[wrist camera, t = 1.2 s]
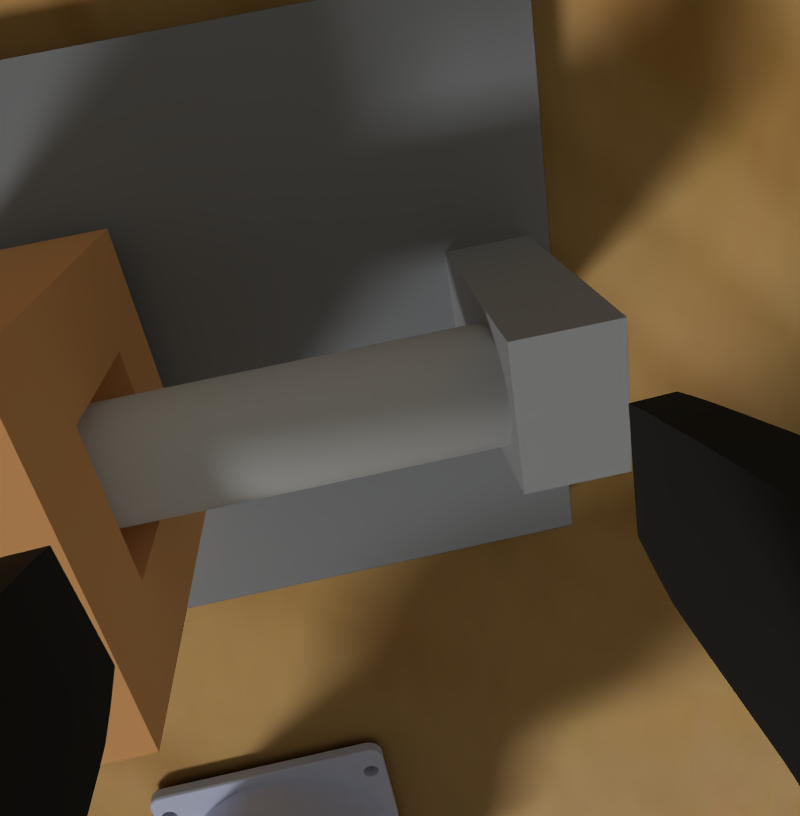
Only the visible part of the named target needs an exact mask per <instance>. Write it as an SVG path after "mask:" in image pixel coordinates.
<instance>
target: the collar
mask: <svg viewBox="0 0 800 816" xmlns="http://www.w3.org/2000/svg"><path fill="white" fill-rule="evenodd" d="M161 388H163V385H162V382H161V379H160V377H159V374H158V371H157V368H156V365H155V362H154V360H153V357H152V354H151V351H150V348H149V345H148V343H147V340H146V337H145V334H144V331H143V328H142V326H141V323H140V320H139V317H138V314H137V311H136V308H135V306H134V303H133V300H132V297H131V294H130V291H129V289H128V286H127V283H126V280H125V277H124V274H123V272H122V269H121V266H120V263H119V260H118V257H117V255H116V252H115V249H114V246H113V243H112V240H111V238H110V235H109V232H108V229H102V230H97V231H92V232H87V233H82V234H77V235H72V236H67V237H62V238H57V239H52V240H47V241H42V242H37V243H32V244H27V245H22V246H17V247H12V248H7V249H2V250H0V558H1V557H4V556H8V555H12V554H16V553H21V552H25V551H29V550H33V549H37V548H41V547H45V546H49V545H50V546H51V548H52V550H53V551H54V553H55V555H56V557H57V559H58V561H59V563H60V564H61V566H62V568H63V570H64V572H65V574H66V576H67V577H68V579H69V581H70V583H71V585H72V587H73V589H74V590H75V592H76V594H77V596H78V598H79V600H80V602H81V603H82V605H83V607H84V609H85V611H86V613H87V615H88V616H89V618H90V620H91V622H92V624H93V626H94V628H95V629H96V631H97V633H98V635H99V637H100V639H101V641H102V642H103V644H104V646H105V648H106V650H107V652H108V654H109V655H110V657H111V659H112V661H113V663H114V665H115V671H114V681H113V690H112V700H111V709H110V716H109V723H108V730H107V737H106V744H105V748H104V753H103V757H102V761H101V765H104V764H109V763H113V762H118V761H122V760H127V759H131V758H135V757H140V756H144V755H149V754H153V753H158V752H159V749H160V744H161V739H162V734H163V728H164V723H165V718H166V713H167V708H168V703H169V698H170V693H171V688H172V682H173V677H174V672H175V667H176V662H177V657H178V652H179V647H180V642H181V636H182V631H183V626H184V621H185V616H186V611H187V606H188V601H189V596H190V590H191V585H192V580H193V575H194V570H195V565H196V560H197V555H198V550H199V544H200V539H201V534H202V529H203V524H204V519H205V514H206V510H205V511H200V512H195V513H191V514H186V515H181V516H177V517H172V518H167V519H163V520H158V521H153V522H149V523H144V524H139V525H134V526H130V527H125V528H119V526H118V524H117V521H116V519H115V517H114V514H113V512H112V510H111V507H110V505H109V502H108V500H107V498H106V495H105V493H104V491H103V488H102V486H101V484H100V481H99V479H98V477H97V474H96V472H95V469H94V467H93V465H92V462H91V460H90V458H89V455H88V453H87V451H86V448H85V446H84V443H83V441H82V439H81V436H80V434H79V432H78V429H77V427H76V425H77V424H78V422H79V420H80V419H81V417H82V415H83V413H84V412H85V410H86V408H87V406H88V405H89V403H94V402H98V401H103V400H108V399H113V398H118V397H123V396H127V395H132V394H137V393H142V392H147V391H152V390H156V389H161Z"/></svg>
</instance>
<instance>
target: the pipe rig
mask: <svg viewBox="0 0 800 816" xmlns="http://www.w3.org/2000/svg"><path fill="white" fill-rule="evenodd" d="M102 229H108V232H109V235H110V238H111V240H112V243H113V246H114V249H115V252H116V255H117V257H118V260H119V263H120V266H121V269H122V272H123V274H124V277H125V280H126V283H127V286H128V289H129V291H130V294H131V297H132V300H133V303H134V306H135V308H136V311H137V314H138V317H139V320H140V323H141V326H142V328H143V331H144V334H145V337H146V340H147V343H148V345H149V348H150V351H151V354H152V357H153V360H154V362H155V365H156V368H157V371H158V374H159V377H160V379H161V382H162V385H163V388H161V389H156V390H152V391H147V392H142V393H137V394H132V395H127V396H123V397H118V398H113V399H108V400H103V401H98V402H94V403H89V405H88V406H87V408H86V410H85V412H84V413H83V415H82V417H81V419H80V420H79V422H78V424H77V425H76V427H77V429H78V432H79V434H80V436H81V439H82V441H83V443H84V446H85V448H86V451H87V453H88V455H89V458H90V460H91V462H92V465H93V467H94V469H95V472H96V474H97V477H98V479H99V481H100V484H101V486H102V488H103V491H104V493H105V495H106V498H107V500H108V502H109V505H110V507H111V510H112V512H113V514H114V517H115V519H116V521H117V524H118V526H119V528H125V527H130V526H134V525H139V524H144V523H149V522H153V521H158V520H163V519H167V518H172V517H177V516H181V515H186V514H191V513H195V512H200V511H205V510H206V514H205V519H204V524H203V529H202V534H201V539H200V544H199V550H198V555H197V560H196V565H195V570H194V575H193V580H192V585H191V590H190V596H189V601H188V606H187V608H191V607H196V606H200V605H205V604H210V603H214V602H219V601H223V600H228V599H233V598H237V597H242V596H246V595H251V594H256V593H260V592H265V591H269V590H274V589H279V588H283V587H288V586H292V585H297V584H301V583H306V582H311V581H315V580H320V579H324V578H329V577H334V576H338V575H343V574H347V573H352V572H357V571H361V570H366V569H370V568H375V567H380V566H384V565H389V564H393V563H398V562H403V561H407V560H412V559H416V558H421V557H426V556H430V555H435V554H439V553H444V552H449V551H453V550H458V549H462V548H467V547H472V546H476V545H481V544H485V543H490V542H495V541H499V540H504V539H508V538H513V537H518V536H522V535H527V534H531V533H536V532H541V531H545V530H550V529H554V528H559V527H564V526H568V525H572V516H571V503H570V490H569V485H571V484H575V483H580V482H585V481H589V480H594V479H599V478H603V477H608V476H613V475H617V474H622V473H627V472H631V471H632V462H631V432H630V418H629V403H630V399H629V368H628V336H627V317H626V316H625V315H624V314H622V313H621V312H620V311H619V310H618V309H616V308H615V307H614V306H613V305H611V304H610V303H609V302H608V301H607V300H605V299H604V298H603V297H602V296H601V295H599V294H598V293H597V292H596V291H595V290H593V289H592V288H591V287H590V286H589V285H587V284H586V283H585V282H584V281H583V280H581V279H580V278H579V277H578V276H577V275H575V274H574V273H573V272H572V271H571V270H569V269H568V268H567V267H566V266H565V265H563V264H562V263H561V262H560V261H559V260H557V259H556V258H555V257H554V256H553V255H551V248H550V235H549V223H548V210H547V197H546V184H545V172H544V159H543V146H542V133H541V121H540V108H539V95H538V82H537V70H536V57H535V44H534V31H533V19H532V6H531V0H312V1H307V2H302V3H296V4H291V5H286V6H281V7H275V8H270V9H265V10H260V11H254V12H249V13H244V14H239V15H233V16H228V17H223V18H218V19H212V20H207V21H202V22H197V23H191V24H186V25H181V26H176V27H170V28H165V29H160V30H155V31H149V32H144V33H139V34H134V35H128V36H123V37H118V38H113V39H107V40H102V41H97V42H92V43H86V44H81V45H76V46H71V47H65V48H60V49H55V50H50V51H44V52H39V53H34V54H29V55H23V56H18V57H13V58H8V59H2V60H0V250H2V249H7V248H12V247H17V246H22V245H27V244H32V243H37V242H42V241H47V240H52V239H57V238H62V237H67V236H72V235H77V234H82V233H87V232H92V231H97V230H102Z"/></svg>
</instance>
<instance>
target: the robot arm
mask: <svg viewBox="0 0 800 816" xmlns="http://www.w3.org/2000/svg"><path fill="white" fill-rule="evenodd" d="M629 418H630V432H631V446H632V460H633V474H634V488H635V502H636V516H637V530H638V537H639V539H640V541H641V543H642V545H643V547H644V549H645V551H646V553H647V555H648V557H649V559H650V561H651V563H652V565H653V567H654V569H655V571H656V573H657V575H658V576H659V578H660V580H661V582H662V584H663V586H664V588H665V589H666V591H667V593H668V595H669V597H670V599H671V600H672V602H673V604H674V605H675V607H676V608H677V610H678V611H679V613H680V614H681V616H682V617H683V619H684V620H685V622H686V623H687V625H688V626H689V627H690V629H691V630H692V632H693V633H694V635H695V636H696V637H697V639H698V640H699V642H700V643H701V645H702V646H703V647H704V649H705V650H706V652H707V653H708V655H709V656H710V658H711V659H712V660H713V662H714V663H715V665H716V666H717V667H718V669H719V670H720V672H721V673H722V674H723V676H724V677H725V679H726V680H727V682H728V683H729V684H730V686H731V687H732V689H733V690H734V691H735V693H736V694H737V696H738V697H739V698H740V700H741V701H742V703H743V704H744V706H745V707H746V708H747V710H748V711H749V713H750V714H751V715H752V717H753V718H754V720H755V721H756V722H757V724H758V725H759V727H760V728H761V730H762V731H763V732H764V734H765V735H766V737H767V738H768V739H769V741H770V742H771V744H772V745H773V746H774V748H775V749H776V751H777V752H778V754H779V755H780V756H781V758H782V759H783V761H784V762H785V764H786V765H787V767H788V768H789V770H790V771H791V773H792V774H793V776H794V777H795V779H796V780H797V782H798V783H799V785H800V435H798V434H795V433H793V432H790V431H787V430H785V429H782V428H779V427H776V426H774V425H771V424H768V423H766V422H763V421H760V420H758V419H755V418H752V417H750V416H747V415H744V414H742V413H739V412H736V411H734V410H731V409H728V408H726V407H723V406H720V405H717V404H715V403H712V402H709V401H706V400H703V399H700V398H697V397H694V396H691V395H687V394H684V393H680V392H674V393H669V394H665V395H661V396H657V397H653V398H649V399H645V400H641V401H637V402H633V403H629ZM114 671H115V665H114V663H113V661H112V659H111V657H110V655H109V654H108V652H107V650H106V648H105V646H104V644H103V642H102V641H101V639H100V637H99V635H98V633H97V631H96V629H95V628H94V626H93V624H92V622H91V620H90V618H89V616H88V615H87V613H86V611H85V609H84V607H83V605H82V603H81V602H80V600H79V598H78V596H77V594H76V592H75V590H74V589H73V587H72V585H71V583H70V581H69V579H68V577H67V576H66V574H65V572H64V570H63V568H62V566H61V564H60V563H59V561H58V559H57V557H56V555H55V553H54V551H53V550H52V548H51V546H50V545H49V546H45V547H41V548H37V549H33V550H29V551H25V552H21V553H16V554H12V555H8V556H4V557H1V558H0V816H87V815H88V811H89V807H90V803H91V799H92V795H93V792H94V788H95V784H96V780H97V776H98V772H99V769H100V765H101V761H102V757H103V753H104V748H105V744H106V737H107V730H108V723H109V716H110V709H111V700H112V690H113V681H114ZM150 809H151V811H152V813H153V815H154V816H399V812H398V808H397V805H396V801H395V797H394V794H393V790H392V786H391V782H390V779H389V775H388V771H387V768H386V764H385V760H384V756H383V753H382V749H381V748H380V746H378V745H377V744H375V743H362V744H358V745H354V746H349V747H345V748H340V749H336V750H331V751H327V752H323V753H318V754H314V755H309V756H305V757H300V758H296V759H292V760H287V761H283V762H278V763H274V764H269V765H265V766H261V767H256V768H252V769H247V770H243V771H238V772H234V773H229V774H225V775H221V776H216V777H212V778H207V779H203V780H198V781H194V782H190V783H185V784H181V785H176V786H172V787H167V788H163V789H160V790H158V791H156V792H155V793H154V794H153V795H152V798H151V803H150Z"/></svg>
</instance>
